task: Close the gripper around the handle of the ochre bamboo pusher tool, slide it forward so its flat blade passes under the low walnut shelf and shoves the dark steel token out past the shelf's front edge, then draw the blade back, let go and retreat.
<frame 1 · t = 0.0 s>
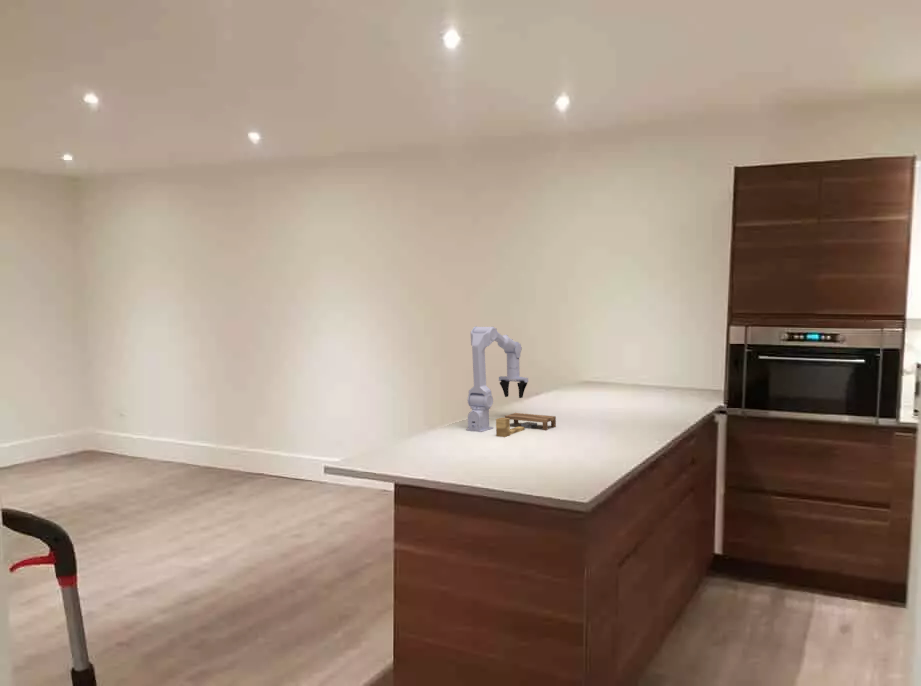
hand: (513, 397, 342), 10 cm above the counter, fingers open, 7 cm apart
shelf: (530, 426, 323), on the counter
token: (529, 427, 322), on the counter
tool: (503, 435, 305), on the counter
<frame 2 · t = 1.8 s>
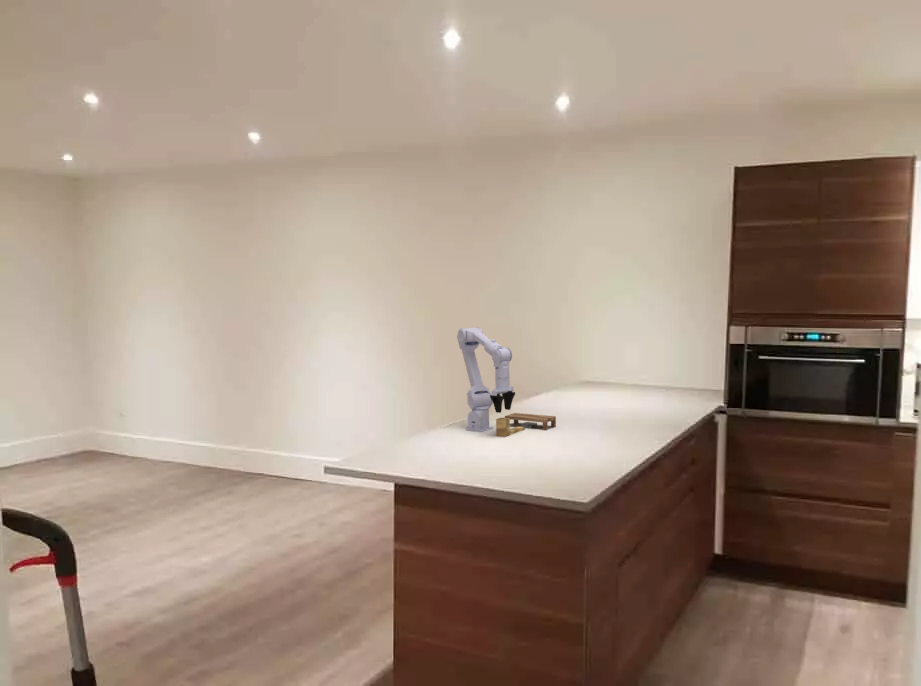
hand: (503, 411, 305), 10 cm above the counter, fingers open, 7 cm apart
nothing on the counter moved.
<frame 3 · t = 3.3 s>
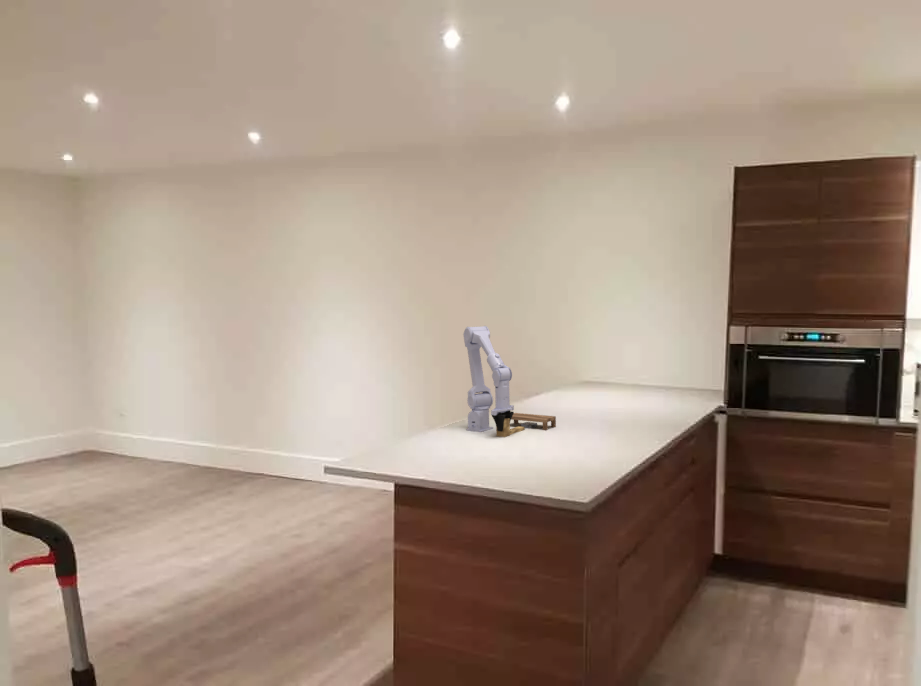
hand: (503, 430, 304), 2 cm above the counter, fingers closed on tool, 4 cm apart
tool: (503, 435, 305), on the counter, touching gripper
everything else where it was.
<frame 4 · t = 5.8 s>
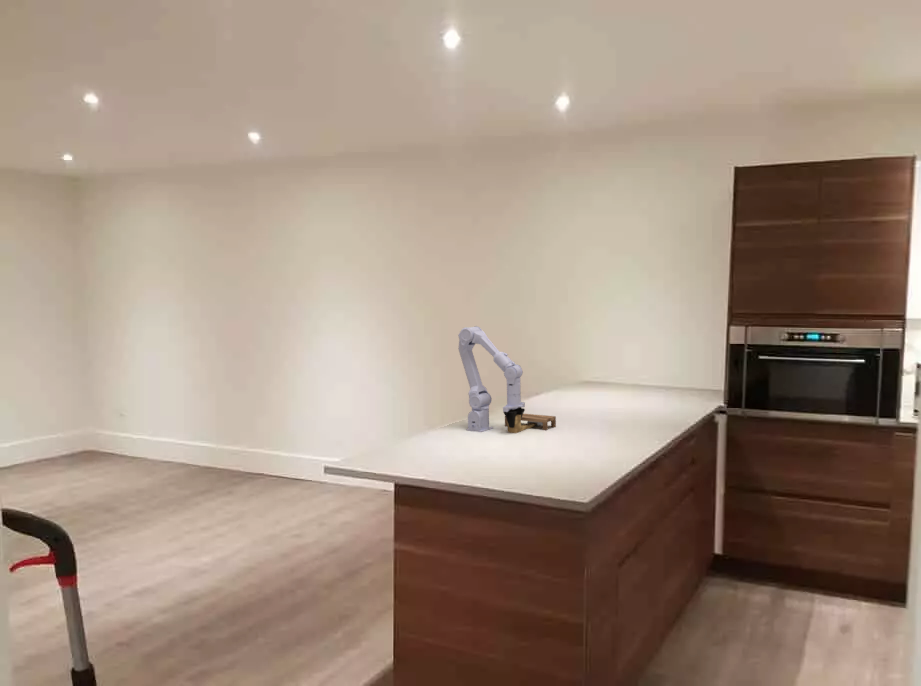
hand: (514, 426, 312), 2 cm above the counter, fingers closed on tool, 4 cm apart
token: (535, 425, 326), on the counter
tool: (514, 431, 312), on the counter, touching gripper
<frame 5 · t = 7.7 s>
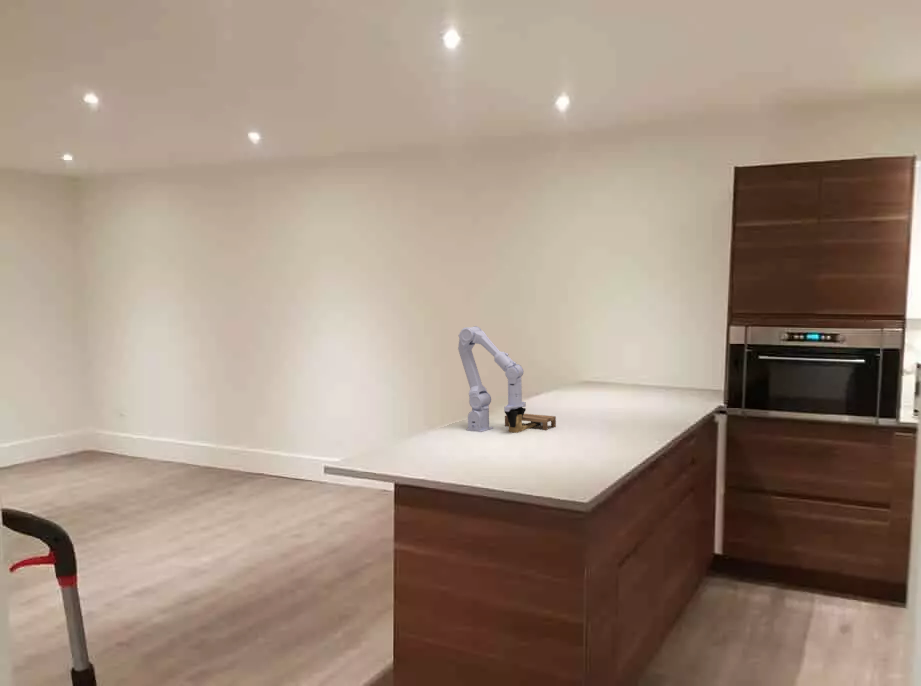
hand: (515, 426, 313), 2 cm above the counter, fingers closed on tool, 4 cm apart
token: (538, 424, 329), on the counter
tool: (515, 431, 313), on the counter, touching gripper
when the fingers open (2 cm above the counter, at t = 8.9 s): tool stays where it is, on the counter.
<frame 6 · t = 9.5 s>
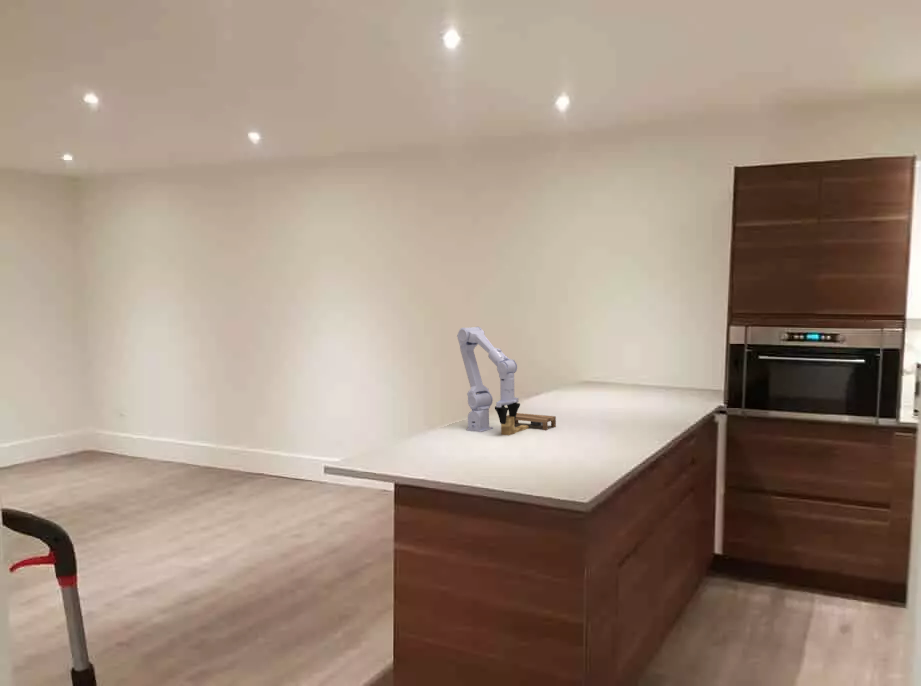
hand: (507, 422, 308), 5 cm above the counter, fingers open, 7 cm apart
tool: (508, 433, 308), on the counter
everything else where it was.
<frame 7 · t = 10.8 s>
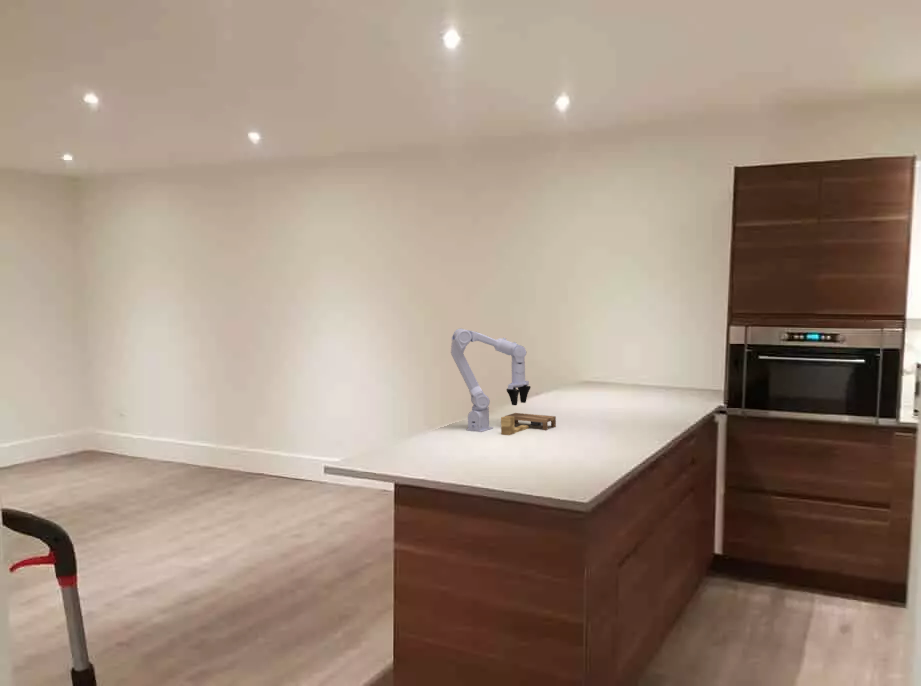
hand: (518, 403, 323), 10 cm above the counter, fingers open, 7 cm apart
nothing on the counter moved.
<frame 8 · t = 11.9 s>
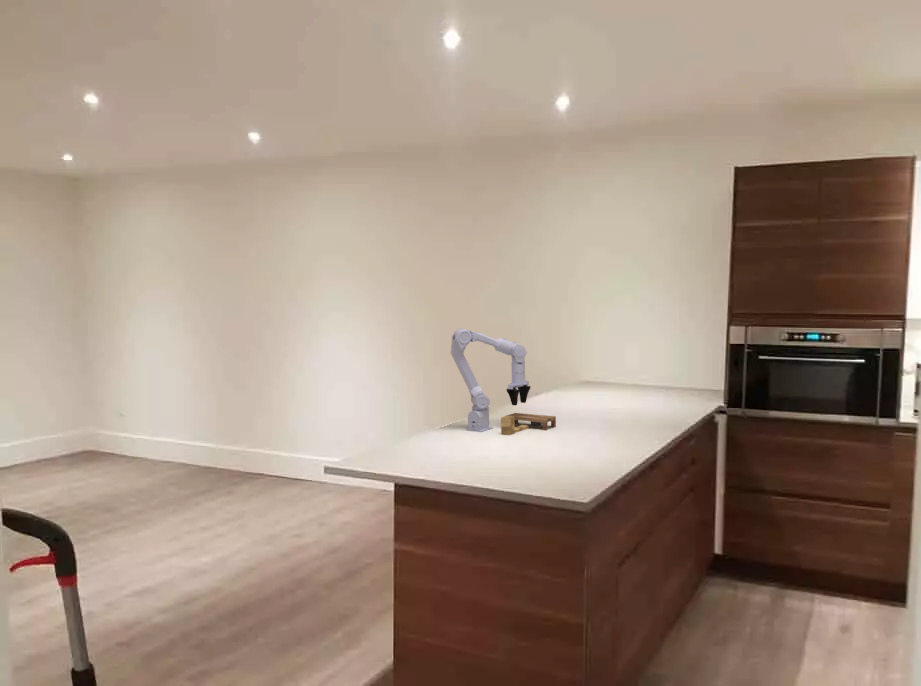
hand: (518, 403, 323), 10 cm above the counter, fingers open, 7 cm apart
nothing on the counter moved.
at the end: token inside the target area (9.0 cm from its centre), on the counter; the gripper is holding nothing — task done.
